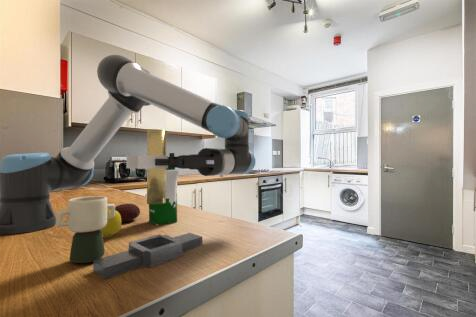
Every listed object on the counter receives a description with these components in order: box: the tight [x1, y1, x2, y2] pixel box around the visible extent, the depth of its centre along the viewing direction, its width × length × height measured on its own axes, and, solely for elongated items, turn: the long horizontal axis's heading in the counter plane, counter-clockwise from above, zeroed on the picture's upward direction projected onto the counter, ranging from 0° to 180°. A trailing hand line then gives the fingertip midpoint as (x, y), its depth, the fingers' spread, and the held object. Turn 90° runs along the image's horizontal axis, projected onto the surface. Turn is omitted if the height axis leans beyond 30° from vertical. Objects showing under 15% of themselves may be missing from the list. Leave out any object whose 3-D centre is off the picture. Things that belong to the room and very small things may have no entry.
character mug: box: [55, 195, 116, 264], centre depth 50 cm, size 11×7×13 cm, turn 140°
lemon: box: [99, 208, 123, 238], centre depth 65 cm, size 6×6×8 cm
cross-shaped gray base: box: [92, 232, 203, 280], centre depth 52 cm, size 9×23×3 cm, turn 140°
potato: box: [115, 203, 141, 223], centre depth 82 cm, size 7×10×6 cm
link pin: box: [146, 128, 167, 205], centre depth 52 cm, size 4×4×16 cm
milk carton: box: [148, 167, 180, 226], centre depth 82 cm, size 9×9×20 cm
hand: (133, 162), depth 48 cm, fingers closed on link pin, 4 cm apart
